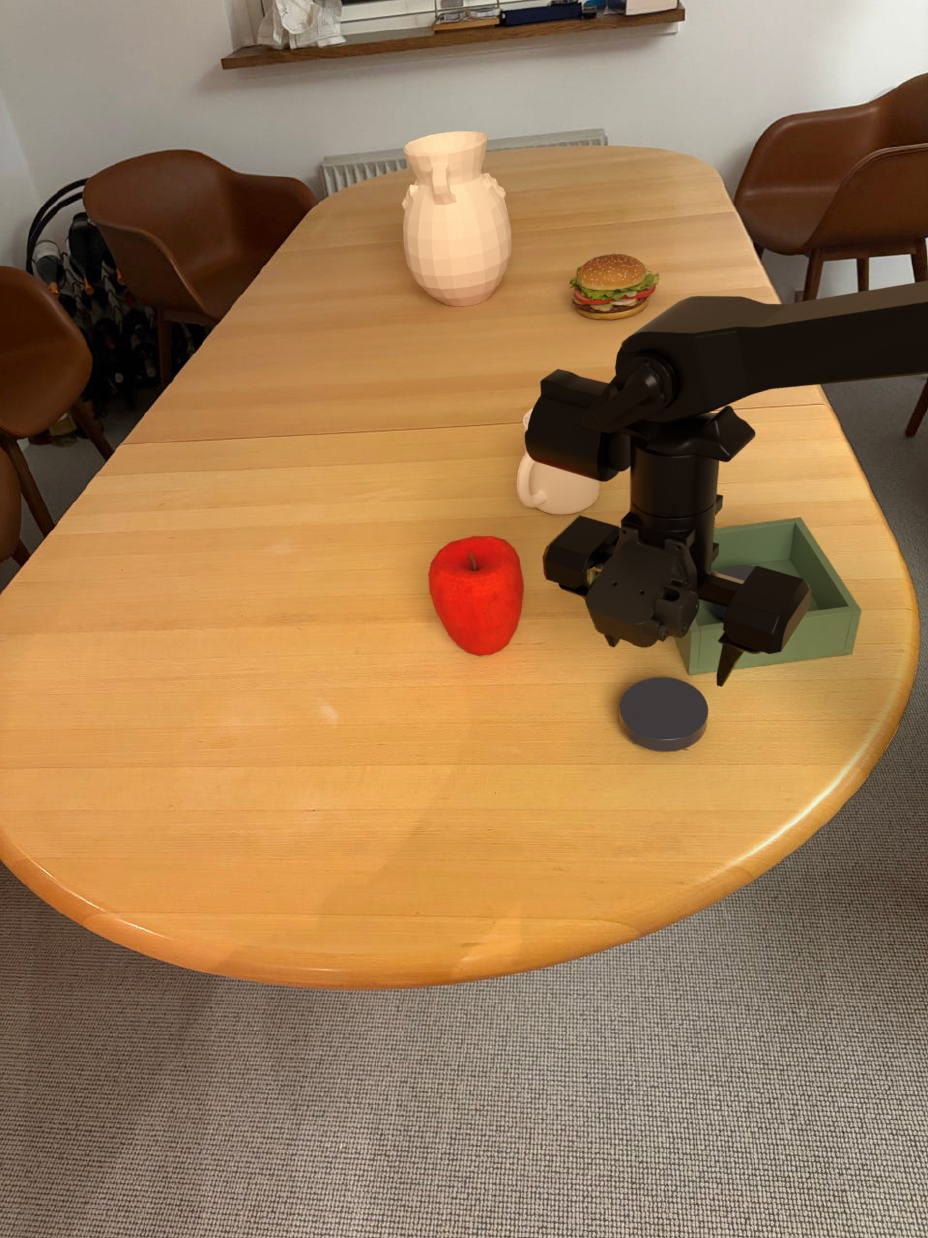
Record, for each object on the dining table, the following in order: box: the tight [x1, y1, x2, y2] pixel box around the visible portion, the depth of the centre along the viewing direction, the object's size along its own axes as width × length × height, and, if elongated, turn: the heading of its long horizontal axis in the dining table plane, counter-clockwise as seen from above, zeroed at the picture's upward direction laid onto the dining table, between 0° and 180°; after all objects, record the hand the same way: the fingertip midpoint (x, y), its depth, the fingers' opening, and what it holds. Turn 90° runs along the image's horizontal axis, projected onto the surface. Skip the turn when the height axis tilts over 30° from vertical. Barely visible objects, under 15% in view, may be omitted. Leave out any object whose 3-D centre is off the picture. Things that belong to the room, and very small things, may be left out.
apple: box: [427, 535, 525, 657], centre depth 82 cm, size 9×9×11 cm
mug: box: [516, 407, 601, 516], centre depth 99 cm, size 12×8×10 cm
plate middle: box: [618, 676, 709, 753], centre depth 74 cm, size 7×7×2 cm
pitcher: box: [401, 131, 513, 307], centre depth 148 cm, size 19×18×25 cm
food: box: [569, 253, 660, 321], centre depth 142 cm, size 14×14×8 cm
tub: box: [673, 516, 862, 676], centre depth 82 cm, size 15×15×5 cm
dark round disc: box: [707, 565, 755, 619], centre depth 83 cm, size 7×7×2 cm
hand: (666, 663), depth 70 cm, fingers open, 9 cm apart
